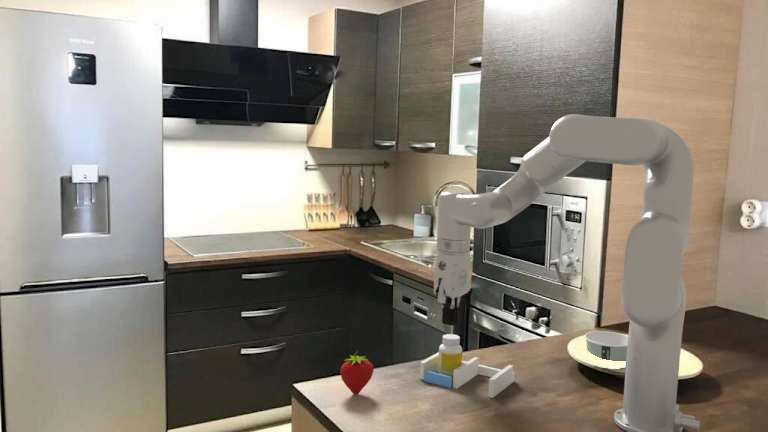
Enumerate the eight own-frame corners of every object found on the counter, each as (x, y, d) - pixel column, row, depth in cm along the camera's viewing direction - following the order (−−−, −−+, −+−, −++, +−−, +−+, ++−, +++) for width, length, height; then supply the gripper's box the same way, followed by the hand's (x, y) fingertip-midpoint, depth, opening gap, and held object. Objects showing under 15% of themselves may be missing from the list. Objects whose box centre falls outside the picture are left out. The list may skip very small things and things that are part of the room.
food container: (635, 374, 155) (637, 348, 154) (583, 368, 158) (585, 342, 157) (630, 358, 167) (632, 333, 166) (582, 353, 170) (583, 329, 169)
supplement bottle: (465, 380, 149) (467, 339, 148) (444, 382, 147) (446, 341, 146) (454, 371, 154) (455, 332, 153) (433, 374, 152) (435, 334, 151)
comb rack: (514, 381, 149) (514, 364, 148) (491, 398, 138) (492, 381, 138) (444, 364, 159) (445, 348, 158) (418, 379, 148) (418, 362, 148)
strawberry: (378, 396, 139) (379, 351, 137) (347, 402, 135) (347, 356, 133) (365, 386, 144) (366, 343, 142) (334, 392, 140) (335, 348, 139)
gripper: (452, 252, 138) (448, 335, 141) (482, 243, 151) (478, 319, 153) (422, 248, 142) (419, 328, 145) (453, 239, 155) (450, 314, 157)
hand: (449, 323), depth 149 cm, fingers closed
